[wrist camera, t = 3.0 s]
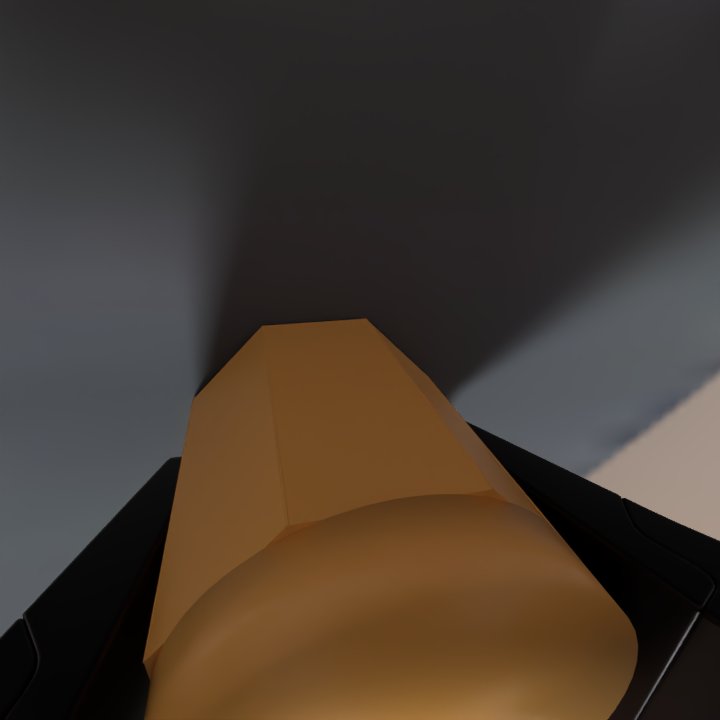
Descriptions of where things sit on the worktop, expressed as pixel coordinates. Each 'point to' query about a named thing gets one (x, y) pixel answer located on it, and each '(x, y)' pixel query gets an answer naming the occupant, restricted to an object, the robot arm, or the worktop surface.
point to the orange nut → (365, 555)
